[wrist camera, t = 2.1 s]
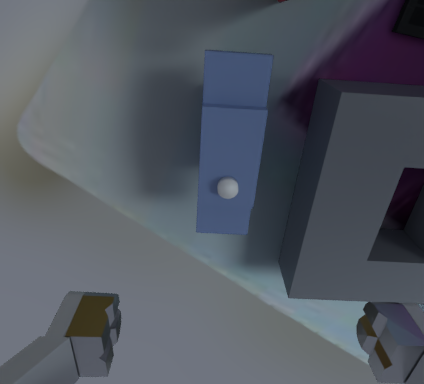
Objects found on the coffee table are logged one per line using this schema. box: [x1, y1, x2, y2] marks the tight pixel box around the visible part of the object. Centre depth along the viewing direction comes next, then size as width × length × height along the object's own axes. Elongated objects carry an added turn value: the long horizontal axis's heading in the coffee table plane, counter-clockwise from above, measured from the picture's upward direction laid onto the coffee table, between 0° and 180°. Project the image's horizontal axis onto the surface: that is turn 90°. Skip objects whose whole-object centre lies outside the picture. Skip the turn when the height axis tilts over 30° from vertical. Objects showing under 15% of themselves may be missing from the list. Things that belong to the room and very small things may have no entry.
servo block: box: [196, 50, 274, 235], centre depth 24 cm, size 4×13×8 cm, turn 176°
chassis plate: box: [279, 79, 424, 304], centre depth 28 cm, size 18×19×5 cm
